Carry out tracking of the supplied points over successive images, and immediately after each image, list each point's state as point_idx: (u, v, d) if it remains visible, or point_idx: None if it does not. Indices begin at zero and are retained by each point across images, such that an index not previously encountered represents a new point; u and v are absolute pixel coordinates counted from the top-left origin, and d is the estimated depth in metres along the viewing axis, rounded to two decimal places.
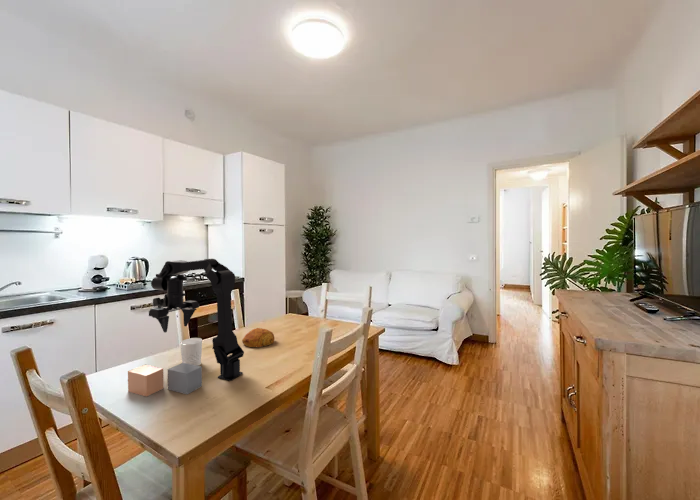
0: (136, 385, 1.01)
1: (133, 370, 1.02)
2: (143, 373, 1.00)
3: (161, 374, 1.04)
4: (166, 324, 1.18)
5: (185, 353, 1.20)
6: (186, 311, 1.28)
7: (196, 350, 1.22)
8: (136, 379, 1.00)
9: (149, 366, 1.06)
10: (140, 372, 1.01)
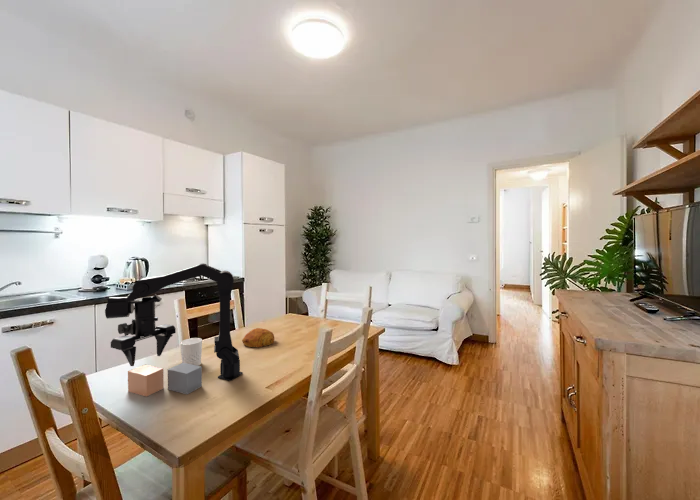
0: (136, 385, 1.01)
1: (133, 370, 1.02)
2: (143, 373, 1.00)
3: (161, 374, 1.04)
4: (133, 357, 0.97)
5: (185, 353, 1.20)
6: (160, 338, 1.07)
7: (196, 350, 1.22)
8: (136, 379, 1.00)
9: (149, 366, 1.06)
10: (140, 372, 1.01)
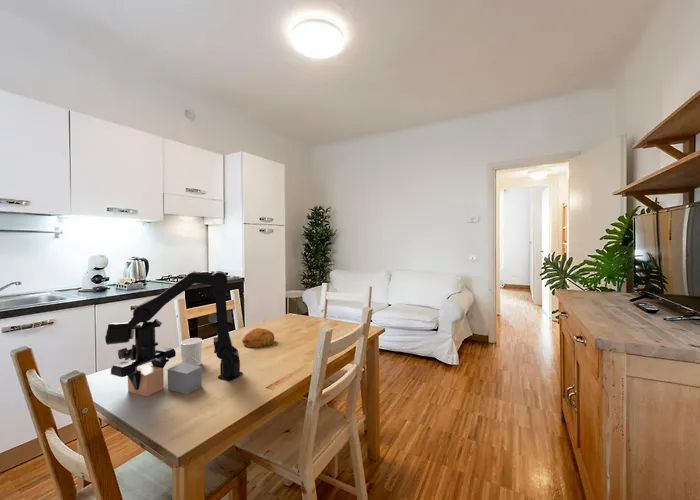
0: None
1: None
2: (143, 373, 1.00)
3: (161, 374, 1.04)
4: (137, 381, 0.99)
5: (185, 353, 1.20)
6: (156, 363, 1.06)
7: (196, 350, 1.22)
8: None
9: (149, 366, 1.06)
10: None
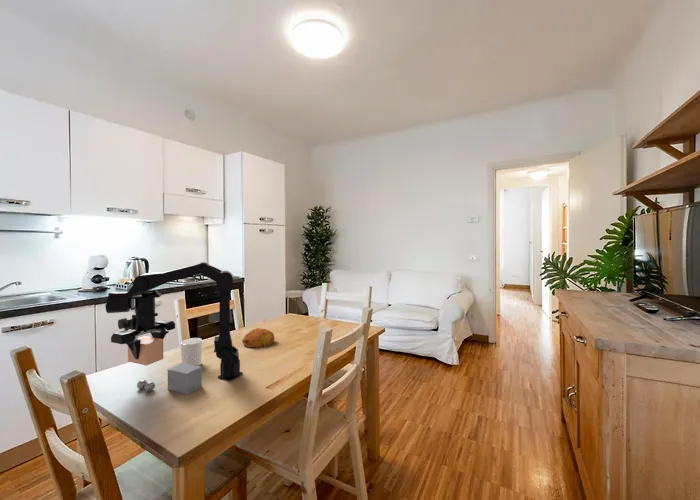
0: None
1: None
2: (143, 342, 1.01)
3: (161, 344, 1.04)
4: (137, 350, 0.99)
5: (185, 353, 1.20)
6: (156, 334, 1.07)
7: (196, 350, 1.22)
8: None
9: (149, 337, 1.06)
10: None
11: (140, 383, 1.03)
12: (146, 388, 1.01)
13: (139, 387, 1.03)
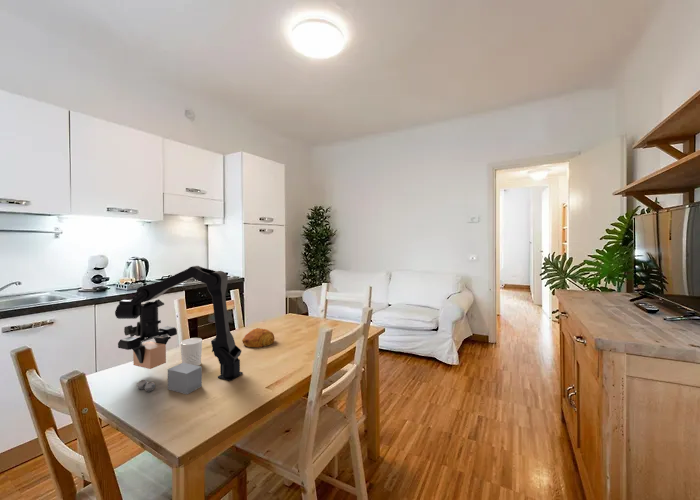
0: None
1: None
2: (147, 348, 1.09)
3: (163, 349, 1.13)
4: (142, 355, 1.08)
5: (185, 353, 1.20)
6: (159, 340, 1.16)
7: (196, 350, 1.22)
8: None
9: (152, 342, 1.15)
10: None
11: (140, 383, 1.03)
12: (146, 388, 1.01)
13: (139, 387, 1.03)
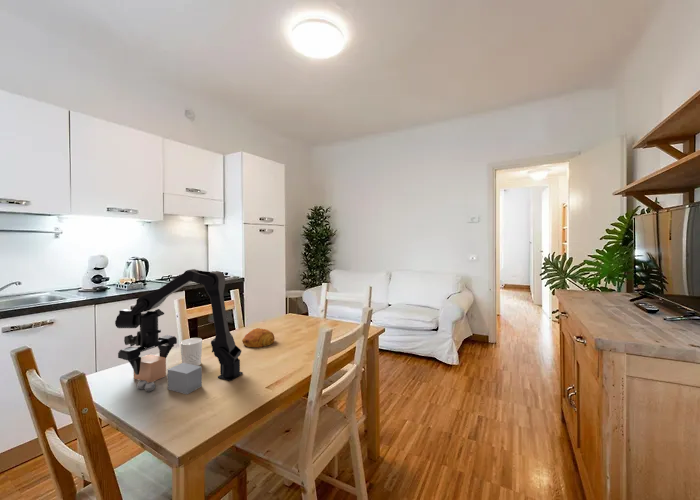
0: (141, 372, 1.10)
1: None
2: (147, 361, 1.10)
3: (164, 363, 1.13)
4: (138, 366, 1.07)
5: (185, 353, 1.20)
6: (162, 348, 1.17)
7: (196, 350, 1.22)
8: (141, 367, 1.10)
9: (153, 356, 1.15)
10: (144, 361, 1.10)
11: (140, 383, 1.03)
12: (146, 388, 1.01)
13: (139, 387, 1.03)
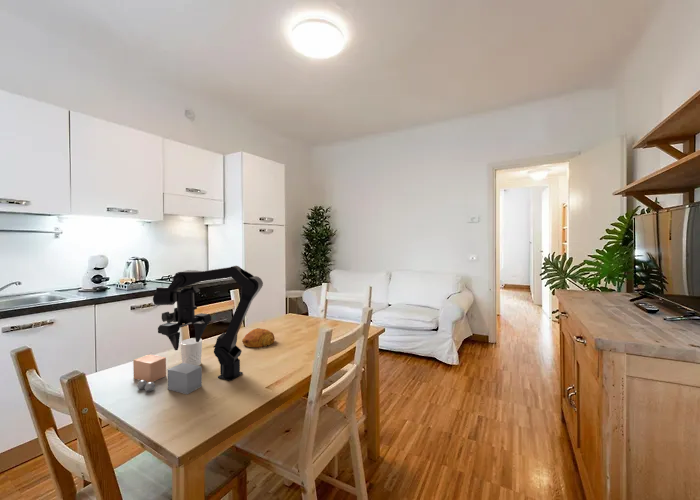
0: (141, 372, 1.10)
1: (138, 359, 1.12)
2: (147, 361, 1.10)
3: (164, 363, 1.13)
4: (177, 341, 1.07)
5: (185, 353, 1.20)
6: (198, 325, 1.18)
7: (196, 350, 1.22)
8: (141, 367, 1.10)
9: (153, 356, 1.15)
10: (144, 361, 1.10)
11: (140, 383, 1.03)
12: (146, 388, 1.01)
13: (139, 387, 1.03)
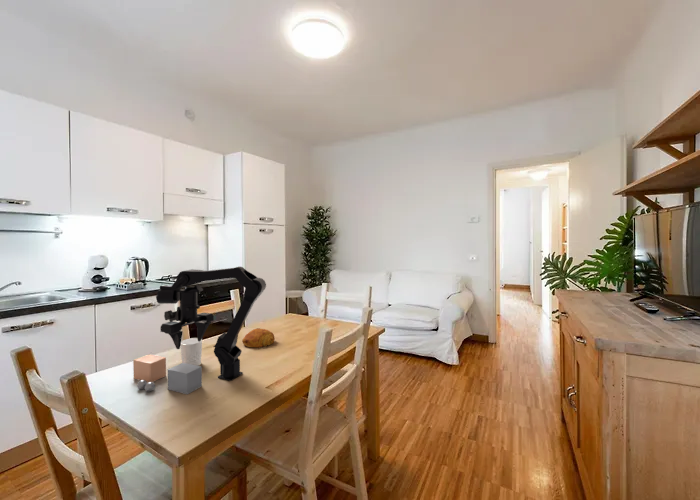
0: (141, 372, 1.10)
1: (138, 359, 1.12)
2: (147, 361, 1.10)
3: (164, 363, 1.13)
4: (179, 340, 1.07)
5: (185, 353, 1.20)
6: (200, 325, 1.18)
7: (196, 350, 1.22)
8: (141, 367, 1.10)
9: (153, 356, 1.15)
10: (144, 361, 1.10)
11: (140, 383, 1.03)
12: (146, 388, 1.01)
13: (139, 387, 1.03)
